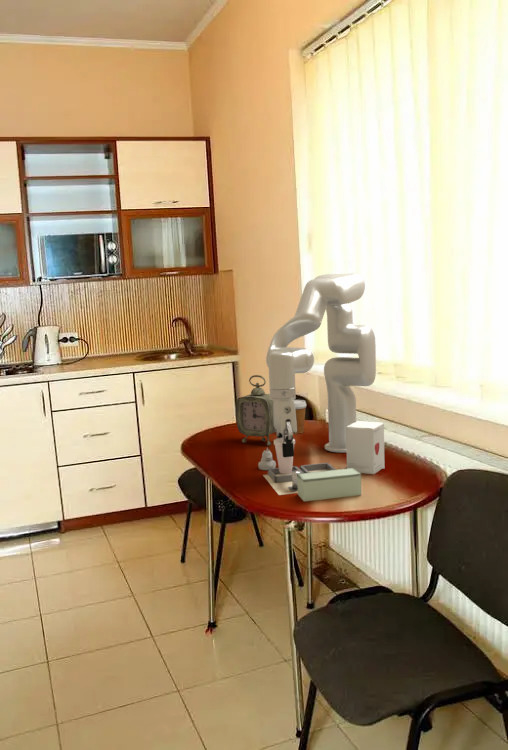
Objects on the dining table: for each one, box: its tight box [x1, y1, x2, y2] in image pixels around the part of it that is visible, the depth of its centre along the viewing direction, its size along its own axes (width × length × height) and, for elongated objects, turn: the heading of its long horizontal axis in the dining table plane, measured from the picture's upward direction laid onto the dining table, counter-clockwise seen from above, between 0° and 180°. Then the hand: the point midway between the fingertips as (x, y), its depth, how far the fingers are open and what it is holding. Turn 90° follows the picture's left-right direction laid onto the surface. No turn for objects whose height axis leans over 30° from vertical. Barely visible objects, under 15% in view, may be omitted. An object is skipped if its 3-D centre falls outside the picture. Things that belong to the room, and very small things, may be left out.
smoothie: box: [273, 431, 296, 474], centre depth 207 cm, size 6×6×14 cm
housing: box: [297, 468, 362, 502], centre depth 190 cm, size 16×6×7 cm, turn 102°
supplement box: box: [346, 420, 385, 475], centre depth 212 cm, size 9×9×15 cm
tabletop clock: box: [235, 374, 277, 447], centre depth 255 cm, size 14×9×25 cm, turn 56°
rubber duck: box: [258, 447, 277, 471], centre depth 219 cm, size 5×7×8 cm
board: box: [262, 469, 328, 496], centre depth 204 cm, size 22×20×1 cm
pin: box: [292, 470, 300, 490], centre depth 196 cm, size 2×2×5 cm
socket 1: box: [267, 465, 303, 483], centre depth 208 cm, size 9×9×2 cm
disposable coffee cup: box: [293, 399, 308, 435], centre depth 270 cm, size 10×10×12 cm
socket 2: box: [299, 462, 337, 473], centre depth 210 cm, size 9×9×2 cm
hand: (285, 453), depth 207 cm, fingers closed on smoothie, 6 cm apart
